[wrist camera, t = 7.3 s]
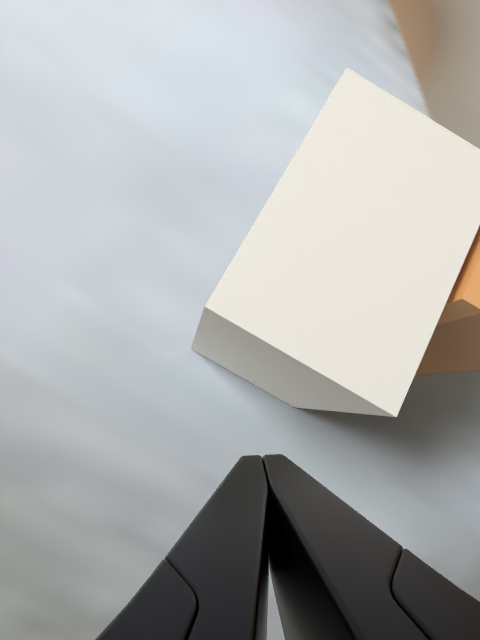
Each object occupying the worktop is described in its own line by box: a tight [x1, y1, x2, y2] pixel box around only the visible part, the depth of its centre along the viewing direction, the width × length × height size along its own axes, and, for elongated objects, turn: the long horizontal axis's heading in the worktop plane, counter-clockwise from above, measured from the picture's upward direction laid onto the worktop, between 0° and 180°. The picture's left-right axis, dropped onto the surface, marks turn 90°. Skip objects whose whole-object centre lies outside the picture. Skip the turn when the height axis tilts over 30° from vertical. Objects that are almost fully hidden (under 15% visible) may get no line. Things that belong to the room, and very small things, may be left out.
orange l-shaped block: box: [415, 226, 480, 376], centre depth 18 cm, size 6×4×10 cm, turn 151°
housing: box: [191, 67, 480, 417], centre depth 17 cm, size 10×6×10 cm, turn 151°
